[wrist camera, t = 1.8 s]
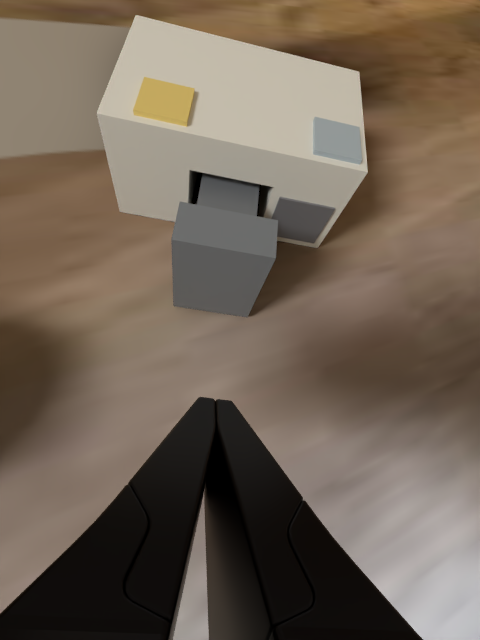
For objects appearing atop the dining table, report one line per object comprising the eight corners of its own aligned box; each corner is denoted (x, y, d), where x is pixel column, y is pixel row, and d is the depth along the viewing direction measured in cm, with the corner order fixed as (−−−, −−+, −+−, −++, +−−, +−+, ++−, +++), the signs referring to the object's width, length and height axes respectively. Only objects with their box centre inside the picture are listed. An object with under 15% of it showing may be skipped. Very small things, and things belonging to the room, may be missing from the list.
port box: (317, 249, 27) (370, 169, 20) (119, 213, 26) (94, 110, 18) (317, 161, 31) (361, 67, 24) (146, 124, 30) (135, 9, 22)
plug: (247, 317, 23) (275, 258, 17) (173, 305, 23) (171, 239, 16) (256, 213, 27) (283, 130, 20) (193, 201, 27) (198, 111, 20)
